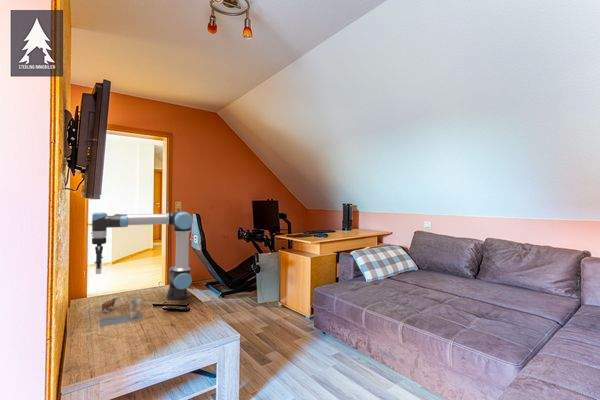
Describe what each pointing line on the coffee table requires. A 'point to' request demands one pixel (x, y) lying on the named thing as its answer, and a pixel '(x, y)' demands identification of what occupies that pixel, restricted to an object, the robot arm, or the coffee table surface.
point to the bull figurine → (109, 304)
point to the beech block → (134, 308)
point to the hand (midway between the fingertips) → (98, 271)
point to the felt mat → (118, 320)
